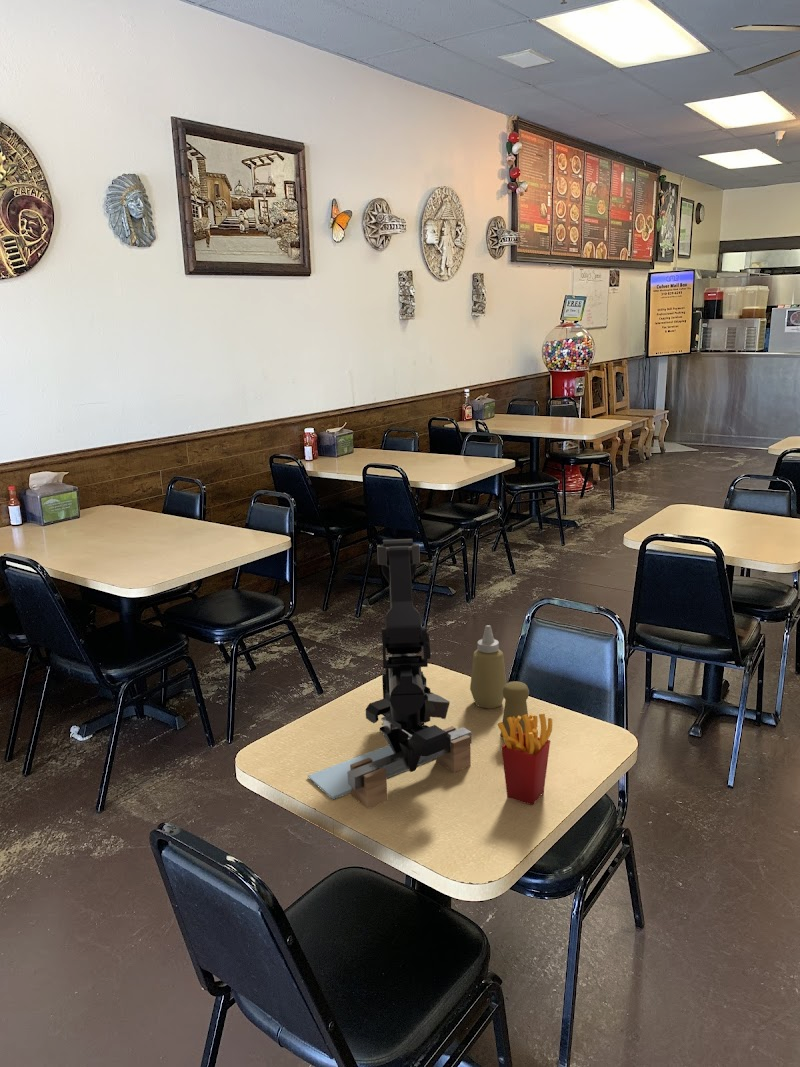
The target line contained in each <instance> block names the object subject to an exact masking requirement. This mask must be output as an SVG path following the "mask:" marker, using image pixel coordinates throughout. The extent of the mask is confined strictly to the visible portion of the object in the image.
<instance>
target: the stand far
mask: <svg viewBox="0 0 800 1067" xmlns="http://www.w3.org/2000/svg"><path fill="white" fill-rule="evenodd" d="M442 730H444V731H446V732H447V733H449V732H452V731H454V730H456V727H454V726H453V725H452V726H449V727H446V728H443V729H442ZM471 754H472V753H471V744H470V736H468V735H465V736H462V737H460V738H457V739H455V740H452V741H451V747H450V752H449V753H446V754H444V755H441V756H439V757H436V758H435V760H436V762H437V763H439V764H440V765H442V766H444V767H445V768H446V769H448V770H449V771H451V772H453V773H457V772H459V771H461V770H463V769H466V768H469V767H471V766H472V765H471V764H472V762H471V761H472V760H471V758H472V756H471Z"/></svg>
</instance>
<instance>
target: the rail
mask: <svg viewBox="0 0 800 1067" xmlns="http://www.w3.org/2000/svg"><path fill="white" fill-rule="evenodd" d="M448 734H450V735H451V741H452V740H455V739H457V738H460V737H462V736H465V735H468V736H470V745H471V744H472V731H470V730H469V729H467V728H465V727H460V728H456V729H455V730H454V731H452V732H449V733H448ZM449 752H450V748H447V749H445V750H442V751H440V752H437V753H435V754H432V755H429V756H420V759H419V762H418V766H420V765H419V764H421V763H423V764H425V763H424V762H426V761H428V762H430V761H429V760H431V759H433V760H435V759H436V757H439V756H441V755H444V754H446V753H449ZM434 758H435V759H434ZM431 761H432V760H431ZM426 763H427V762H426ZM421 765H422V764H421ZM381 768H384V769H385V770H386V777H388V778H390V777H389V776H391V775H393V776H395V775H394V774H396V773H398V774H400V773H399V772H401V771H403V772H405V771H404V770H406V769H408V766H407V764H406V761H405V758H404V755H403V752H402V751H400V752H397V753H395V754H392V755H389V756H387V757H384V758H382V759H379V760H376V761H374V762H371V763H369V764H366V765H363V766H361V767H358V768H356V769H353V770H350V771H348V772H347V773H348V784H349V785H350V786H351V787H352V788H354V789H355V790H357V789H359V788H362V787H364V775H366V774H368V773H371V772H373V771H376V770H378V769H381ZM408 770H409V769H408ZM406 771H407V770H406ZM401 773H402V772H401ZM396 775H397V774H396ZM391 777H392V776H391Z"/></svg>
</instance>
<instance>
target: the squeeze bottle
mask: <svg viewBox="0 0 800 1067" xmlns="http://www.w3.org/2000/svg"><path fill="white" fill-rule="evenodd" d="M504 658H505V657H504V652H503V651H502V650H501V649H500V642H499V640H498V639H495V638H494V635H493V628H492V626H491V625H490V624H489V625H488V624H487V625H485V627H484V632H483V636H482V638H481V639H479V640H478V641H477V649H476V650H475V651H473V656H472V666H471V675H470V676H471V677H470V687H469V690H470V692H471V695H472V698H473V701H474V703H475V704H476V706H477V707H480V708H483V709H495V708H499V707H500V706H501V705H503V701H504V700H505V698H504V696H503V688H504V686H505V684H507V677H506V669H505V659H504Z"/></svg>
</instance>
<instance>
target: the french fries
mask: <svg viewBox="0 0 800 1067" xmlns="http://www.w3.org/2000/svg"><path fill="white" fill-rule="evenodd" d="M522 718H523V721H524V723H525V734H523V731H522V727H521V726H520V724H519V721H520V720H521V716H519V715H518V717H517V718H515V717H514V716H513V717H508V718H507V721H508V723H509V727H510V737H509V736H508V733H507V731H506V729H505V727H504V725H503V723H502V721H500V722H498V723H497V726H498V729H499V731H500V734H501V733H502V735H503V737H502V738H503V741H504V744H503V746H501V755H502V756H501V757H502V763H503V771H504V772H503V773H504V779H505V780H504V781H505V788H506V795H507V796H506V797H507V798H508V799H511V800H514V801H518V802H522V803H524V804H528V805H531V806H534V805H535V804H536V802H537V801H538V800H539V798H540V797H541V796H542V795H541V794H543V793H544V792H545V784H546V777H547V769H548V761H549V753H550V745H551V740H550V739H549V738H550V736H551V734H552V732H553V719H552V718H551V717H548V718H546V713H540V714H538V715H534V714H533V713H530V714H528V715H527V714H525V715H523V716H522ZM538 718H539V722H540V735H539V734H538V733H539V732H538ZM546 719H547V720H546ZM513 721H514V723H513ZM516 727H517V728H518V732H517V731H516ZM538 735H539V737H538Z"/></svg>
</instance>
